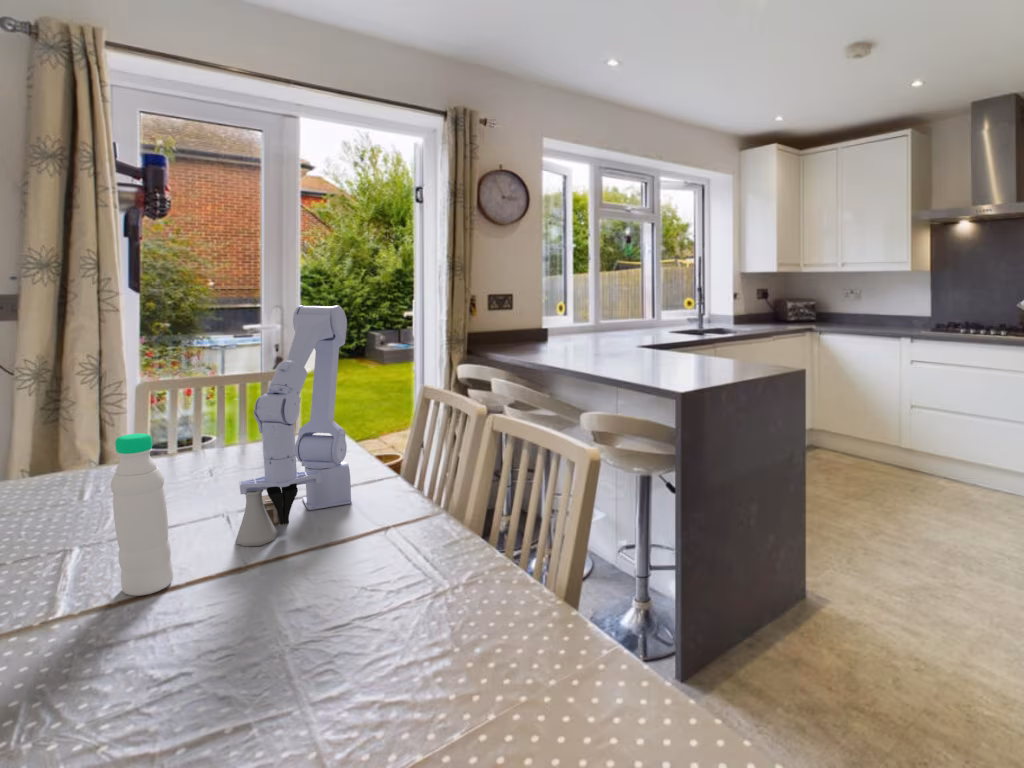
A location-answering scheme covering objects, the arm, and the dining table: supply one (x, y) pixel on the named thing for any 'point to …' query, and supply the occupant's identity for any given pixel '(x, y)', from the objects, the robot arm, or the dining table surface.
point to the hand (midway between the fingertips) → (283, 522)
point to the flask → (255, 522)
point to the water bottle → (140, 518)
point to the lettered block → (271, 510)
